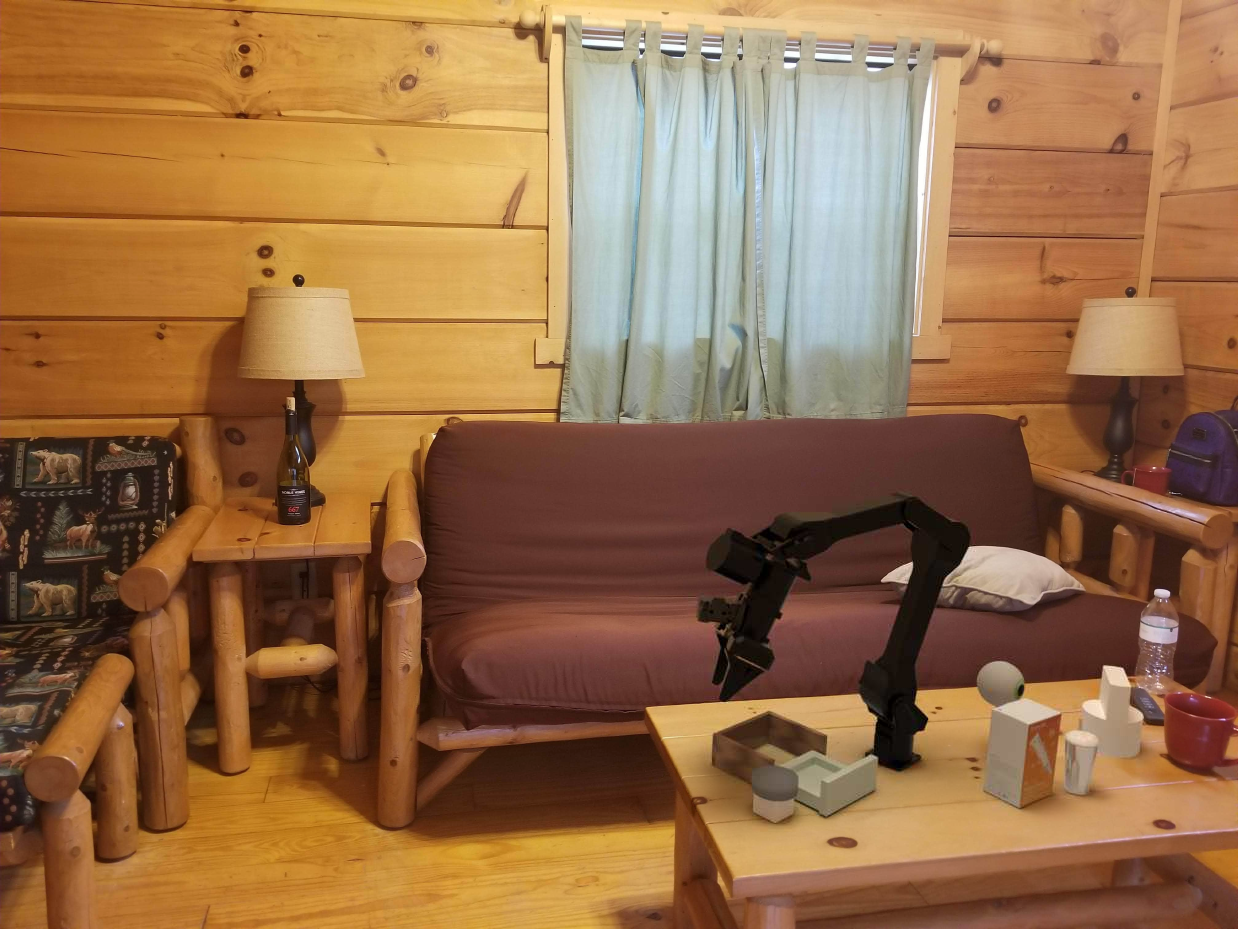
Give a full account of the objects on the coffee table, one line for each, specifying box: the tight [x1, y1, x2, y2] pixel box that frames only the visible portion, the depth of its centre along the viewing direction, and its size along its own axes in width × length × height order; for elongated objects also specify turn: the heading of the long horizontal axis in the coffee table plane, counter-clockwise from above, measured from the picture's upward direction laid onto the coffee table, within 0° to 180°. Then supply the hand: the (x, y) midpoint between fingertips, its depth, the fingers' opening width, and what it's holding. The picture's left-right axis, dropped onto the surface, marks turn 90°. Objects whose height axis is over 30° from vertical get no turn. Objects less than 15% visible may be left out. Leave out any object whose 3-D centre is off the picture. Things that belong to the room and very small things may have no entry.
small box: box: [982, 697, 1062, 809], centre depth 145 cm, size 8×6×13 cm
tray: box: [779, 750, 879, 817], centre depth 146 cm, size 11×12×5 cm
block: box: [752, 793, 795, 824], centre depth 139 cm, size 4×4×4 cm
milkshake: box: [1063, 718, 1099, 796], centre depth 147 cm, size 4×5×10 cm
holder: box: [711, 710, 828, 785], centre depth 153 cm, size 12×13×5 cm
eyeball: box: [976, 660, 1026, 708], centre depth 158 cm, size 7×7×15 cm
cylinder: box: [750, 765, 799, 801], centre depth 138 cm, size 6×6×2 cm
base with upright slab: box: [1080, 665, 1144, 759], centre depth 162 cm, size 9×9×12 cm
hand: (717, 692), depth 144 cm, fingers open, 9 cm apart
